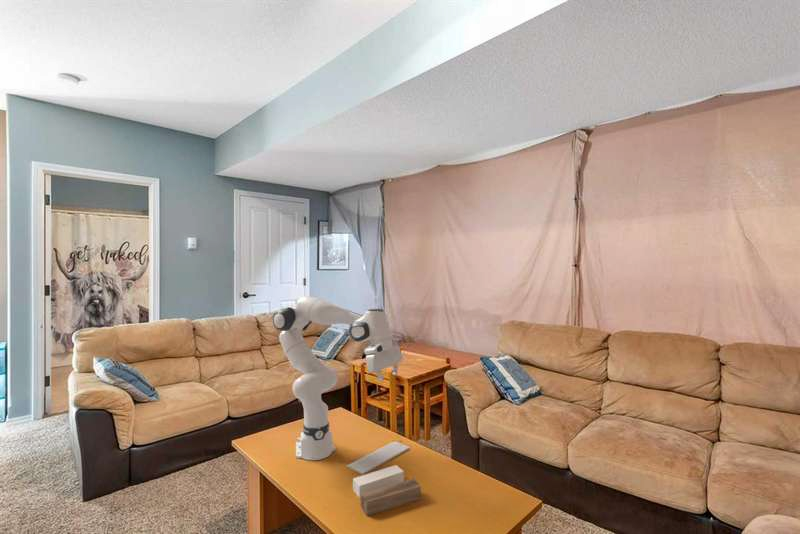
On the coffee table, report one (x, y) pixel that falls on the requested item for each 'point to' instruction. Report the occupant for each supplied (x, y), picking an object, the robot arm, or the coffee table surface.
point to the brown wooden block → (390, 496)
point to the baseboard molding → (377, 457)
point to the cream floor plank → (377, 479)
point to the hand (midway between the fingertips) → (388, 377)
